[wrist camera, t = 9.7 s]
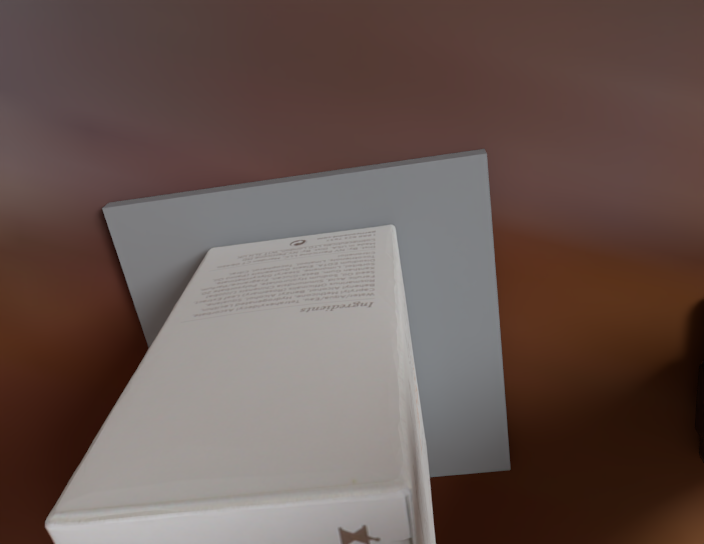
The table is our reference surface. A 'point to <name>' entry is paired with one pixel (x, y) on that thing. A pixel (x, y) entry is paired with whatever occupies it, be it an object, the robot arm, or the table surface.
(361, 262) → the small box
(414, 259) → the mat
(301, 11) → the table surface
